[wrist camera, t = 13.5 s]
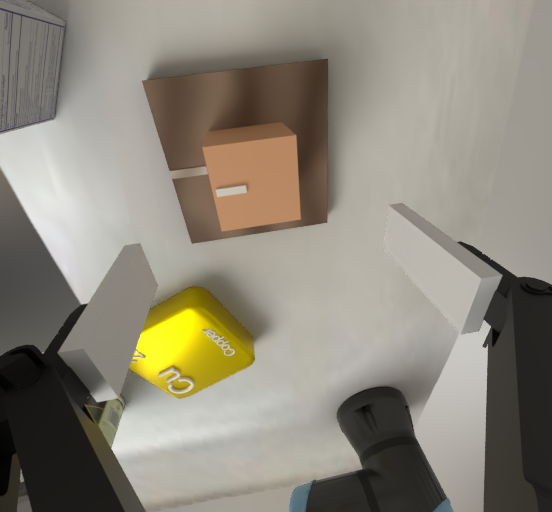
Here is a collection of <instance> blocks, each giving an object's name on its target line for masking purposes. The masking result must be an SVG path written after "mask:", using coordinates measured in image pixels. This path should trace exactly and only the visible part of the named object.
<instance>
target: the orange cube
mask: <svg viewBox="0 0 552 512" xmlns="http://www.w3.org/2000/svg"><path fill="white" fill-rule="evenodd" d="M202 149H203V153H204V157H205V162H206V166H207V170H208V175H209V179H210V183H211V188H212V192H213V196H214V201H215V205H216V209H217V214H218V218H219V222H220V227H221V231H229V230H235V229H242V228H249V227H255V226H262V225H268V224H275V223H281V222H288V221H295V220H301V214H300V195H299V176H298V158H297V139H296V134H295V133H293V132H292V131H291V130H290V129H289V128H288V127H287V126H286V125H284V124H283V123H282V122H278V123H270V124H262V125H254V126H247V127H239V128H231V129H223V130H216V131H208V133H207V136H206V139H205V141H204V144H203V147H202Z"/></svg>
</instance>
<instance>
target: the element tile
mask: <svg viewBox="0 0 552 512" xmlns="http://www.w3.org/2000/svg"><path fill="white" fill-rule="evenodd" d="M254 360H255V353H254V343H253V337H252V335H251V334H250V333H249V332H248V331H247V330H246V329H245V328H244V327H243V326H242V325H241V324H240V323H239V322H238V321H237V320H236V319H235V318H234V317H233V316H232V315H231V314H230V313H229V312H228V311H227V310H226V309H225V308H224V307H223V305H222V304H221V303H220V302H219V301H218V300H217V299H216V298H215V297H214V296H213V295H212V294H211V293H210V292H209V291H207V290H206V289H204V288H202V287H190V288H187V289H185V290H183V291H182V292H180V293H178V294H176V295H175V296H173V297H171V298H169V299H168V300H166V301H164V302H162V303H161V304H159V305H157V306H155V307H154V308H152V309H150V310H149V312H148V315H147V318H146V321H145V324H144V327H143V330H142V333H141V336H140V338H139V341H138V344H137V347H136V350H135V353H134V356H133V359H132V362H131V364H130V367H129V369H130V370H131V371H133V372H135V373H136V374H138V375H139V376H141V377H143V378H144V379H146V380H147V381H149V382H151V383H152V384H154V385H155V386H157V387H159V388H160V389H162V390H163V391H165V392H167V393H168V394H170V395H172V396H174V397H177V398H185V397H188V396H191V395H193V394H195V393H197V392H199V391H201V390H203V389H205V388H207V387H209V386H211V385H213V384H215V383H217V382H219V381H221V380H223V379H225V378H227V377H229V376H231V375H233V374H235V373H237V372H239V371H241V370H243V369H245V368H247V367H249V366H251V365H252V364H253V363H254Z"/></svg>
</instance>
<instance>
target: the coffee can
mask: <svg viewBox="0 0 552 512" xmlns="http://www.w3.org/2000/svg"><path fill="white" fill-rule="evenodd" d="M85 404H86V406H87V407H88V408H89V409H90V411H91V413H92V415H93V417H94V419H95V420H96V422H97V424H98V426H99V428H100V429H101V431H102V433H103V435H104V437H105V438H106V440H107V442H108V444H109V446H110V448H111V447H112V444H113V441H114V438H115V434H116V432H117V429H118V425H119V422H120V419H121V416H122V412H123V410H124V408H125V402H124V400H123V398H122V397H121V396H119V398H117V399H112V400H107V401H101V402H97V401H96V400H95V399H94V398H93V396H92V395H91V394H89V396H88V398H87V400H86V403H85ZM17 512H32V509H31V505H30V501H29V497H28V494H27V490H26V486H25V482H24V479H23V475H22V471H21V473H20V483H19V494H18V504H17Z"/></svg>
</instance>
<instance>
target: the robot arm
mask: <svg viewBox="0 0 552 512" xmlns="http://www.w3.org/2000/svg"><path fill="white" fill-rule="evenodd" d="M383 249H384V250H385V251H386V252H387V253H388V255H389V256H390V257H391V258H392V259H393V260H394V261H395V262H396V263H397V264H398V266H399V267H400V268H401V269H402V270H403V271H404V272H405V273H406V274H407V276H408V277H409V278H410V279H411V280H412V281H413V282H414V283H415V284H416V286H417V287H418V288H419V289H420V290H421V291H422V292H423V293H424V294H425V296H426V297H427V298H428V299H429V300H430V301H431V302H432V303H433V304H434V306H435V307H436V308H437V309H438V310H439V311H440V312H441V313H442V314H443V315H444V317H445V318H446V319H447V320H448V321H449V322H450V323H451V324H452V325H453V327H454V328H455V329H456V330H457V331H458V332H459V333H460V334H466V333H471V332H476V331H479V330H480V328H481V325H482V323H483V320H485V321H486V322H487V323H488V324H489V325H490V326H491V329H490V331H489V333H488V335H487V337H486V340H485V342H484V344H483V347H485V348H486V346H487V344H488V368H487V405H486V442H485V478H484V479H485V480H484V512H552V285H551V284H549V283H547V282H545V281H542V280H538V279H535V278H530V277H516V276H515V275H514V274H512V273H511V272H509V271H508V270H506V269H505V268H503V267H502V266H500V265H499V264H498V263H496V262H495V261H493V260H490V258H489V257H488V256H486V255H485V254H482V252H480V251H479V250H477V249H476V248H474V247H473V246H471V245H468V244H466V243H463V242H456V241H455V240H453V239H452V238H450V237H449V236H448V235H446V234H445V233H443V232H442V231H441V230H439V229H438V228H436V227H435V226H434V225H432V224H431V223H430V222H428V221H427V220H425V219H424V218H423V217H421V216H420V215H418V214H417V213H416V212H414V211H413V210H411V209H410V208H409V207H407V206H406V205H405V204H403V203H399V204H392V205H389V206H388V214H387V222H386V230H385V238H384V246H383ZM157 286H158V285H157V282H156V280H155V278H154V275H153V273H152V270H151V268H150V266H149V263H148V261H147V259H146V256H145V254H144V251H143V249H142V247H141V244H140V243H138V244H131V245H125V246H124V247H123V249H122V251H121V252H120V254H119V255H118V257H117V258H116V260H115V262H114V263H113V265H112V266H111V268H110V270H109V271H108V273H107V274H106V276H105V278H104V279H103V281H102V282H101V284H100V286H99V287H98V289H97V290H96V292H95V294H94V295H93V297H92V298H91V300H90V302H89V303H88V304H83V305H80V306H79V307H78V308H77V309H76V310H75V311H73V312H72V313H71V314H70V315H69V317H68V318H67V320H66V321H65V323H64V326H62V327H61V329H60V330H59V331H58V334H57V335H56V336H55V338H54V339H53V340H52V342H51V343H50V345H49V346H48V348H47V349H46V351H45V352H44V354H42V353H41V352H40V350H39V349H38V348H37V347H35V346H34V345H24V346H20V347H16V348H14V349H12V350H10V351H8V352H6V353H4V354H3V355H1V356H0V512H17V504H18V494H19V483H20V473H21V471H22V475H23V479H24V482H25V486H26V490H27V494H28V497H29V501H30V505H31V509H32V512H146V511H145V509H144V507H143V506H142V504H141V502H140V500H139V498H138V496H137V495H136V493H135V491H134V489H133V487H132V486H131V484H130V482H129V480H128V478H127V477H126V475H125V473H124V471H123V469H122V467H121V466H120V464H119V462H118V460H117V458H116V457H115V455H114V453H113V451H112V449H111V448H110V446H109V444H108V442H107V440H106V438H105V437H104V435H103V433H102V431H101V429H100V428H99V426H98V424H97V422H96V420H95V419H94V417H93V415H92V413H91V411H90V409H89V408H88V407H87V406H86V404H85V403H86V400H87V398H88V396H89V394H91V395H92V396H93V398H94V399H95V400H96V401H97V402H101V401H107V400H112V399H117V398H119V396H120V393H121V390H122V388H123V385H124V382H125V379H126V376H127V373H128V370H129V367H130V364H131V362H132V359H133V356H134V353H135V350H136V347H137V344H138V341H139V338H140V336H141V333H142V330H143V327H144V324H145V321H146V318H147V315H148V312H149V310H150V307H151V304H152V301H153V298H154V295H155V292H156V289H157ZM409 411H410V410H409V405H408V403H407V401H406V399H405V397H404V396H403V394H402V393H401V392H400V391H399V390H397V389H393V388H386V387H384V388H374V389H370V390H366V391H363V392H361V393H358V394H356V395H354V396H353V397H351V398H349V399H348V400H347V401H345V402H344V403H343V404H342V405H341V406H340V408H339V409H338V412H337V419H338V422H339V426H340V428H341V430H342V432H343V433H344V434H345V436H346V437H347V439H348V441H349V442H350V444H351V445H352V447H353V448H354V450H355V451H356V453H357V454H358V456H359V459H360V462H361V465H362V468H363V469H362V470H358V471H353V472H349V473H345V474H341V475H337V476H333V477H329V478H325V479H321V480H317V481H316V480H312V481H311V482H310V483H307V484H304V485H301V486H298V487H296V488H295V489H294V491H293V492H292V495H291V498H290V505H289V512H453V509H452V507H451V505H450V500H449V499H448V498H447V497H446V495H445V493H444V491H443V489H442V488H441V485H440V483H439V481H438V479H437V478H436V476H435V474H434V472H433V470H432V468H431V466H430V464H429V462H428V460H427V459H426V456H425V454H424V453H423V451H422V449H421V447H420V445H419V443H418V441H417V439H416V437H415V434H414V429H413V424H412V419H411V415H410V412H409Z"/></svg>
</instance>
